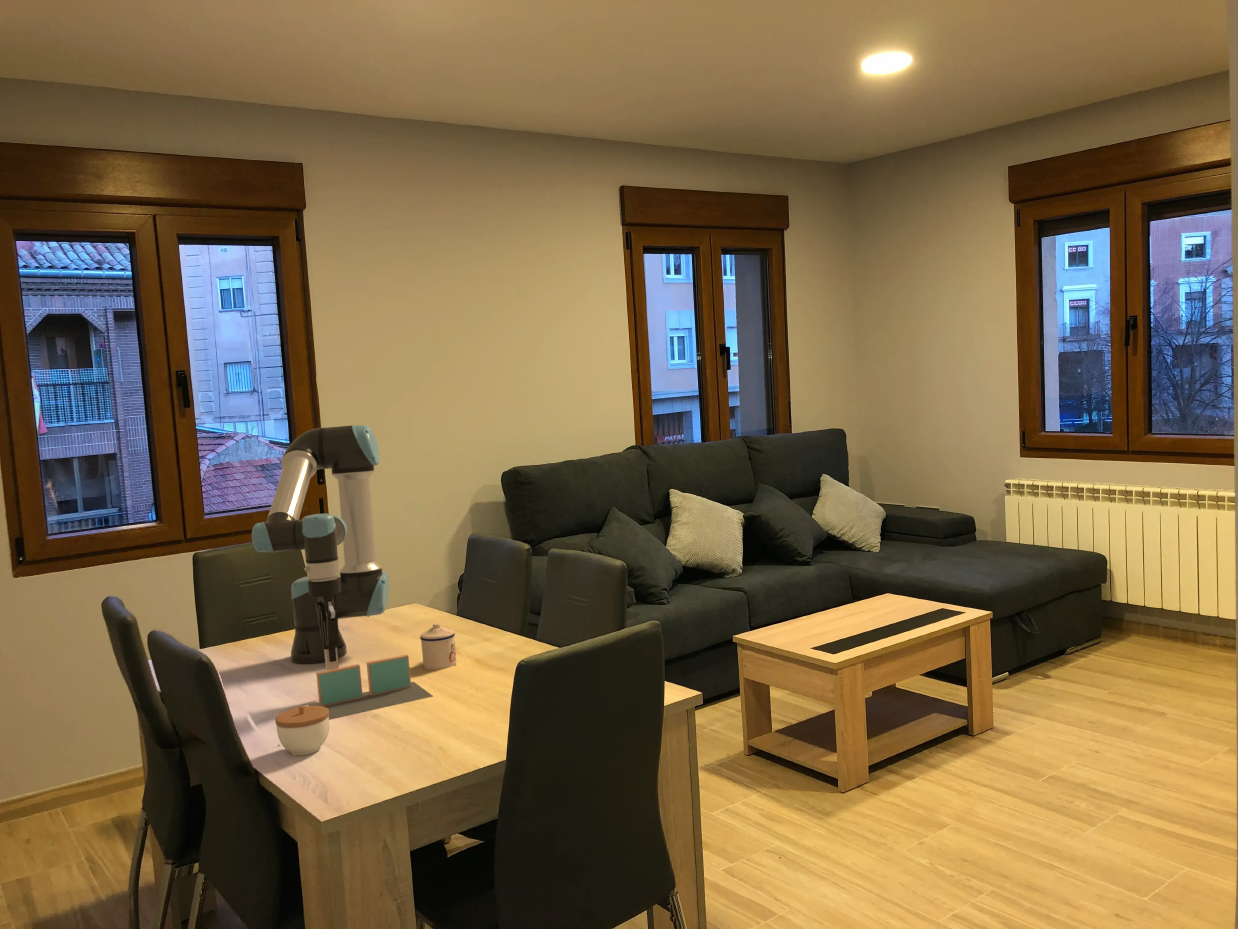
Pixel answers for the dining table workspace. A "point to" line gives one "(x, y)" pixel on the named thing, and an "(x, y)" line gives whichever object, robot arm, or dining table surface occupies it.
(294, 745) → the lidded jar
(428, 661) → the teacup with lid
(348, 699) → the tile near
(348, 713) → the mat
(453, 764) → the dining table surface
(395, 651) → the dining table surface
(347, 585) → the robot arm
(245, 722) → the dining table surface
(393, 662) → the tile far
